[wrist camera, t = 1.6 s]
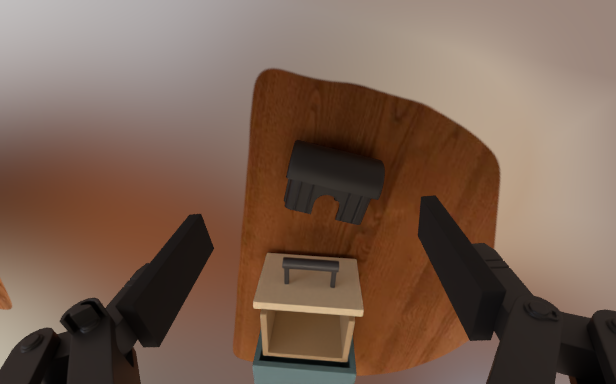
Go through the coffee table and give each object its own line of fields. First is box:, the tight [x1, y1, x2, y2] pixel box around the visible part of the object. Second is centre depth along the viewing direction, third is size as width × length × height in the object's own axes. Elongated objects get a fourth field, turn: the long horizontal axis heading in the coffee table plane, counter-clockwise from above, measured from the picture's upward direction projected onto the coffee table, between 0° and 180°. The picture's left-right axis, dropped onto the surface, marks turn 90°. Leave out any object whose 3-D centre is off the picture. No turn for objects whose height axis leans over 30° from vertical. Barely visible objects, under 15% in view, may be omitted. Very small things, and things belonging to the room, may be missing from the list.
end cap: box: [284, 140, 385, 225], centre depth 31 cm, size 10×7×7 cm
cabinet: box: [253, 330, 356, 384], centre depth 45 cm, size 13×15×11 cm
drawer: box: [253, 253, 364, 362], centre depth 37 cm, size 16×13×9 cm
